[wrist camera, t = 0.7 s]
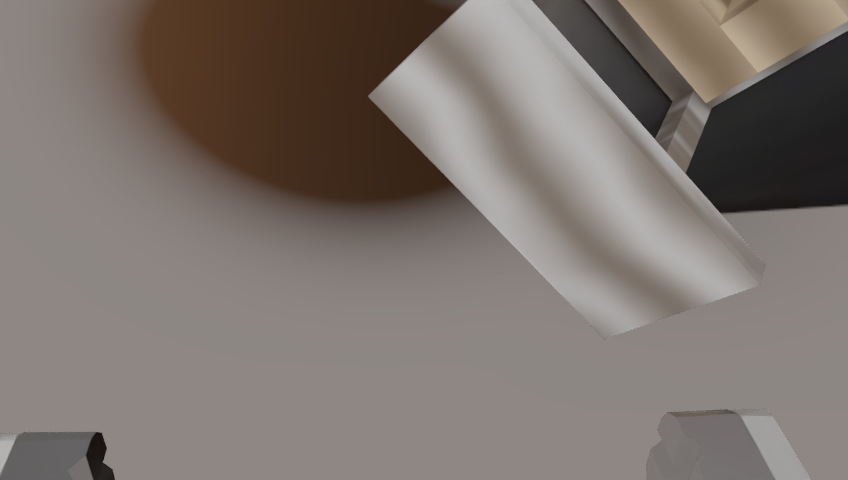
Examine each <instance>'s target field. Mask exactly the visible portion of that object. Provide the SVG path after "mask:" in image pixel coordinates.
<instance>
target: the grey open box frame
mask: <svg viewBox="0 0 848 480" xmlns="http://www.w3.org/2000/svg"><path fill="white" fill-rule="evenodd" d="M585 1H586V2H587V3H588V4H589V5H590V7H591V8H592V9H593V10H594V11H595V12H596V13H597V15H598V16H599V17H600V18H601V19H602V20H603V22H604V23H605V24H606V25H607V26H608V27H609V28H610V30H611V31H612V32H613V33H614V34H615V35H616V37H617V38H618V39H619V40H620V41H621V42H622V43H623V45H624V46H625V47H626V48H627V49H628V50H629V52H630V53H631V54H632V55H633V56H634V57H635V58H636V60H637V61H638V62H639V63H640V64H641V65H642V67H643V68H644V69H645V70H646V71H647V72H648V73H649V75H650V76H651V77H652V78H653V79H654V80H655V82H656V83H657V84H658V85H659V86H660V87H661V88H662V90H663V91H664V92H665V93H666V94H667V95H668V97H669V98H670V99H671V100H672V101H673V102H672V104H671V106H670V108H669V110H668V112H667V115H666V117H665V119H664V121H663V123H662V125H661V127H660V130H659V132H658V134H657V136H656V138H655V139H654V138H653V137H652V136H651V134H650V133H649V132H648V131H647V130H646V129H645V128H644V127H643V125H642V124H641V123H640V122H639V121H638V120H637V119H636V118H635V116H634V115H633V114H632V113H631V112H630V111H629V110H628V108H627V107H626V106H625V105H624V104H623V103H622V102H621V101H620V99H619V98H618V97H617V96H616V95H615V94H614V93H613V92H612V90H611V89H610V88H609V87H608V86H607V85H606V84H605V82H604V81H603V80H602V79H601V78H600V77H599V76H598V75H597V73H596V72H595V71H594V70H593V69H592V68H591V67H590V66H589V64H588V63H587V62H586V61H585V60H584V59H583V58H582V56H581V55H580V54H579V53H578V52H577V51H576V50H575V49H574V47H573V46H572V45H571V44H570V43H569V42H568V41H567V40H566V38H565V37H564V36H563V35H562V34H561V33H560V32H559V31H558V29H557V28H556V27H555V26H554V25H553V24H552V23H551V21H550V20H549V19H548V18H547V17H546V16H545V15H544V14H543V12H542V11H541V10H540V9H539V8H538V7H537V6H536V5H535V3H534V2H533V1H532V0H466V1H465V2H464V3H463V4H462V5H461V6H460V7H459V8H458V9H457V10H456V11H455V12H454V13H453V14H452V15H451V16H450V17H449V18H448V19H447V20H446V21H445V22H444V23H443V24H441V25H440V26H439V27H438V28H437V29H436V30H435V31H434V32H433V33H432V34H431V35H430V36H429V37H428V38H427V39H426V40H425V41H424V42H423V43H422V44H421V45H420V46H419V47H418V48H417V49H415V50H414V51H413V52H412V53H411V54H410V55H409V56H408V57H407V58H406V59H405V60H404V61H403V62H402V63H401V64H400V65H399V66H398V67H397V68H396V69H395V70H394V71H393V72H392V73H391V74H390V75H388V77H386V78H385V79H384V80H383V81H382V82H381V83H380V84H379V85H378V86H377V87H376V89H375V90H374V91H373V92H372V93H371V94H370V95H369V96H368V97H369V98H370V99H371V100H372V101H373V102H374V103H375V104H376V105H377V106H378V107H379V108H380V109H381V110H382V111H383V112H384V113H385V114H386V115H387V116H388V117H389V118H390V120H391V121H392V122H394V124H395V125H396V126H397V127H398V128H399V129H400V130H401V131H402V132H403V133H404V134H405V135H406V136H407V137H408V138H409V139H410V140H411V141H412V142H413V143H414V144H415V145H416V146H417V147H418V148H419V149H420V150H421V151H422V152H423V153H424V154H425V156H427V158H428V159H429V160H431V162H432V163H433V164H434V165H435V166H436V167H437V168H438V169H439V170H440V171H441V172H442V173H443V174H444V175H445V176H446V177H447V178H448V179H449V180H450V181H451V182H452V183H453V184H454V185H455V186H456V187H457V188H458V189H459V190H460V191H461V193H462V194H463V195H464V196H465V197H466V198H467V199H468V200H469V201H470V202H471V203H472V204H473V205H474V206H475V207H476V208H477V209H478V210H479V211H480V212H481V213H482V214H483V215H484V216H485V217H486V218H487V219H488V220H489V221H490V222H491V223H492V224H493V225H494V226H495V227H496V228H497V230H498V231H499V232H500V233H501V234H502V235H503V236H504V237H505V238H506V239H507V240H508V241H509V242H510V243H511V244H512V245H513V246H514V247H515V248H516V249H517V250H518V251H519V252H520V253H521V254H522V255H523V256H524V257H525V258H526V259H527V260H528V261H529V262H530V263H531V264H532V265H533V267H534V268H535V269H537V271H538V272H539V273H540V274H541V275H542V276H543V277H544V278H545V279H546V280H547V281H548V282H549V283H550V284H551V285H552V286H553V287H554V288H555V289H556V290H557V291H558V292H559V293H560V294H561V295H562V296H563V297H564V298H565V299H566V300H567V301H568V302H569V303H570V304H571V306H572V307H573V308H574V309H576V311H577V312H578V313H579V314H580V315H581V316H582V317H583V318H584V319H585V320H586V321H587V322H588V323H589V324H590V325H591V326H592V327H593V328H594V329H595V330H596V331H597V332H598V333H599V334H600V335H601V336H602V337H603V338H604V339H606V338H609V337H612V336H615V335H617V334H620V333H623V332H626V331H629V330H632V329H635V328H638V327H641V326H644V325H646V324H649V323H652V322H655V321H658V320H661V319H664V318H667V317H669V316H672V315H675V314H678V313H681V312H684V311H687V310H690V309H693V308H695V307H698V306H701V305H704V304H707V303H710V302H713V301H716V300H718V299H721V298H724V297H727V296H730V295H733V294H736V293H739V292H741V291H744V290H747V289H750V288H753V287H756V286H759V285H760V284H761V280H762V276H763V272H764V268H765V263H764V262H763V261H762V260H761V259H760V258H759V257H758V255H756V253H755V252H754V251H753V250H752V249H751V248H750V246H749V245H748V244H747V243H746V242H745V241H744V240H743V238H742V237H741V236H740V235H739V234H738V233H737V232H736V231H735V229H734V228H733V227H732V226H731V225H730V224H729V223H728V222H727V220H726V219H725V218H724V217H723V216H722V215H721V214H720V212H719V211H718V210H717V209H716V208H715V207H714V206H713V205H712V203H711V202H710V201H709V200H708V199H707V198H706V197H705V196H704V194H703V193H702V192H701V191H700V190H699V189H698V188H697V186H696V185H695V184H694V183H693V182H692V181H691V180H690V179H689V177H688V176H687V175H686V174H685V173H686V171H687V168H688V166H689V163H690V161H691V158H692V156H693V153H694V151H695V148H696V146H697V143H698V141H699V138H700V136H701V133H702V131H703V128H704V126H705V123H706V121H707V118H708V116H709V113H710V111H711V108H712V107H714V106H716V105H718V104H719V103H721V102H723V101H725V100H726V99H728V98H730V97H732V96H733V95H735V94H737V93H739V92H741V91H742V90H744V89H746V88H748V87H749V86H751V85H753V84H755V83H756V82H758V81H760V80H762V79H763V78H765V77H767V76H769V75H770V74H772V73H774V72H776V71H777V70H779V69H781V68H783V67H784V66H786V65H788V64H790V63H791V62H793V61H795V60H797V59H799V58H800V57H802V56H804V55H806V54H807V53H809V52H811V51H813V50H814V49H816V48H818V47H820V46H821V45H823V44H825V43H827V42H828V41H830V40H832V39H834V38H835V37H837V36H839V35H841V34H842V33H844V32H846V31H848V0H585Z"/></svg>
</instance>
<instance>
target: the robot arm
mask: <svg viewBox="0 0 848 480" xmlns="http://www.w3.org/2000/svg"><path fill="white" fill-rule="evenodd" d="M658 431H659V434H660V436H661V438H662V441H661V442H659V443H658V444H657V445H656V446H654V447H653V448H652V449H651V450H650V454H649V458H648V461H647V480H811V478H810V477H809V475H808V473H807V472H806V470H805V468H804V467H803V465H802V464H801V462H800V460H799V459H798V457H797V456H796V454H795V452H794V450H793V449H792V447H791V445H790V444H789V442H788V441H787V439H786V437H785V436H784V434H783V432H782V431H781V429H780V427H779V426H778V424H777V423H776V421H775V419H774V418H773V416H772V415H771V414H770V413H769V412H768V411H767V410H765V409H742V410H706V411H686V412H667V413H666V414H665V415H664V416H663V417H662V419H661V421H660V424H659V427H658ZM106 450H107V447H106V444H105V441H104V438H103V435H102V433H100V432H29V433H27V432H24V433H0V480H115V477H114V473H113V470H112V469H111V468H110V467H108V466H107V465H106V464H104V463H103V460H104V457H105V453H106Z"/></svg>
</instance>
